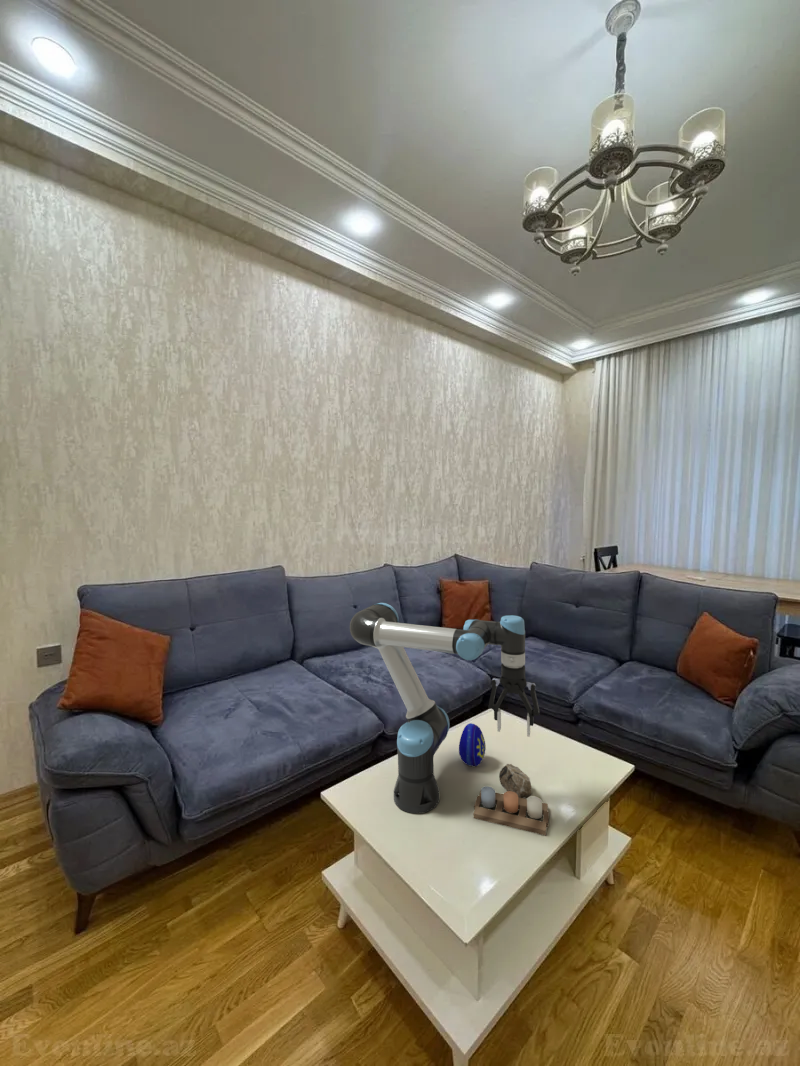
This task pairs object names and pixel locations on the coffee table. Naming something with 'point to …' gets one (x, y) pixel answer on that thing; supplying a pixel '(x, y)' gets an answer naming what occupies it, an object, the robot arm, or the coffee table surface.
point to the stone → (515, 781)
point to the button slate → (488, 797)
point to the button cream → (534, 807)
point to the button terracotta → (511, 802)
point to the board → (509, 819)
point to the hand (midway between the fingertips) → (513, 732)
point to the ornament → (472, 745)
